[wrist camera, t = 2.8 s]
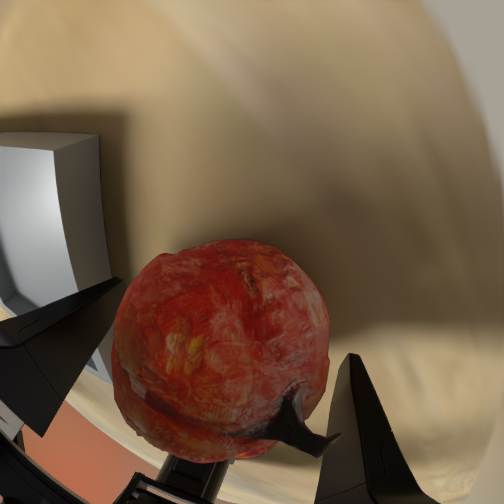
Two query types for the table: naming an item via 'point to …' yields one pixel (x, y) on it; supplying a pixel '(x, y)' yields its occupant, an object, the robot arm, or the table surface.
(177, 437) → the pomegranate
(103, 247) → the tray
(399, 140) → the table surface
